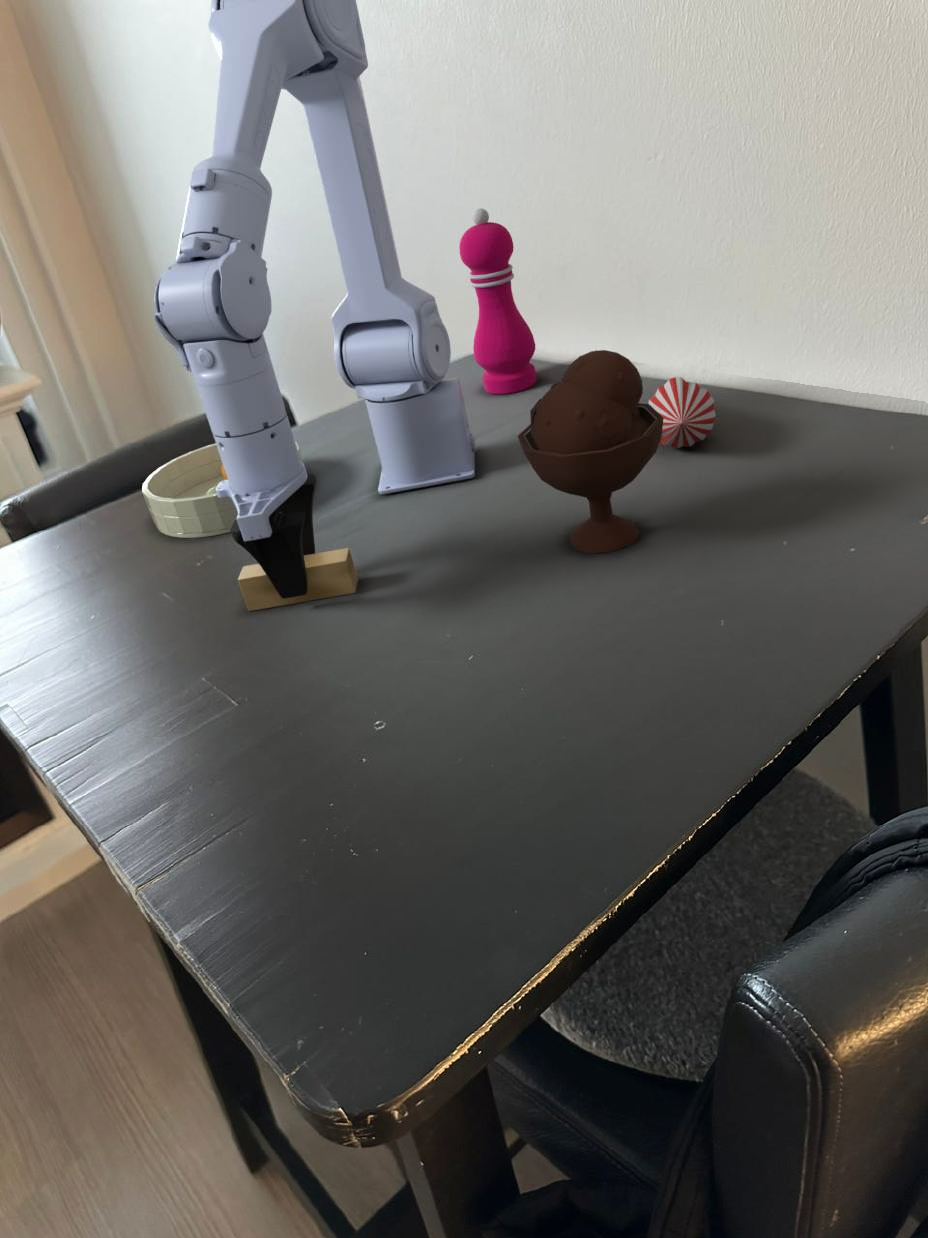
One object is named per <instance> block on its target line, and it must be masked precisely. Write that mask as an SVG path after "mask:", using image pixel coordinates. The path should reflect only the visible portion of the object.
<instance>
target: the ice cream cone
mask: <svg viewBox="0 0 928 1238" xmlns="http://www.w3.org/2000/svg"><path fill="white" fill-rule="evenodd" d="M648 404H650V405H651V406H652V407H653V408H654V409H655V410H656V411H657V412H658V413H659V414H660V415H661V416H662V417H663V428H662V437H661V439H660V442H661V444H662V445H663V446H664V447H665V446H666V447H671V448H674V449H680V448H682V447H683V448H684V447H686V448H690V447H692V446H693V445H695V444H696V443H697V442H701V441H704V440H705V438H706V436H707V435H708V434H710V433H711V431H712V430H713V428H714V424H715V420H716V417H717V415H716V411H715V399H714V398H713V397H712V395H711V393H710V391H709V390H708V389H705V388H703V387H701V386H700V385H699V384H698V383H696V382H690V381H686V380H685V379H684V378H683V377H681V376H675V377H670V378H669V379H668V380H667V381H666V383H664V384H663V385H660V386H659V387H657V390H656V392H655V393H654V394H653V396H652V397H650V398H649V399H648Z"/></svg>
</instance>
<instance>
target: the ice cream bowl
mask: <svg viewBox="0 0 928 1238" xmlns="http://www.w3.org/2000/svg"><path fill="white" fill-rule="evenodd" d="M643 390H644V387H643V379H642V377H641V375H640V372H639V370H638V368H637V367H636V366H635V365H634V363H633V362H632V361H631V360H630V359H629V358H627V357H626V356H624V355H622V354H620V353H619V352H616V351H612V350H607V349H601V350H597V349H596V350H591V351H589V352H586V353H584V354H582V355H580V356H578V357H577V358H576V359H574V361H573V362H571V363H570V364H569V365H568V367H567V368H566V370H565V372H564V374H563V375H562V378H561V381H558V382H554V383H553V384H552V385H551V386H550V388H549V390H548V391H546V393H544V395H543V396H542V397H541V398H538V400H537V402H536V403H535V404H534V406H533V407H531V409H529V410H530V411H529V412H530V423H529V424H528V426H527V427H526V428H525V429H523V431H521V432H520V433H519V434H518V435H517V439H518V441H519V444H520V447H521V449H522V451H523V454H524V455H525V457H526V459H527V461H528V463H529V465H530V466H531V468H532V469H533V471H534V472H535V474H536V475H537V476H538V477H539V479H540V480H541V481H542V482H544V483H545V484H547V485H549V487H551V488H553V489H554V490H556V491H560V492H563V493H565V494H568V495H573V496H577V497H583V498H586V500H587V502H588V506H589V514H590V515H589V518H587V519H586V520H584V521H583V522H582V523H580V524H579V525H578V526H577V527H576V528H575V529H574V531H572V533H571V535H570V543H571V544H572V546H573V547H574V549H575V550H577V551H581V552H583V553H588V554H602V553H612V552H616V551H619V550H621V549H624V548H626V547H628V546H630V545H633V544H634V542H635V541H636V539H637V538H638V536H639V535H640V532H639V530H638V527H637V526H636V525H635V523H634V521H632V519H629V518H626V517H622V516H619V515H615V514H614V512H613V508H612V502H611V501H612V500H611V498H612V494H613V493H614V492H617V491H619V490H621V489H624V488H625V487H626V486H628V485H629V484H631V483H632V482H633V481H635V479H636V478H637V477H638V475H639V474H640V473H641V472H642V471H643V469H645V467H646V465H647V464H648V463H649V462H650V460H651V459H652V458H653V457H654V455H655V454H656V453H657V450H658V447H659V444H660V442H661V441H660V439H661V437H662V428H663V417H662V416H661V415H660V414H659V413H658V412H657V411H656V410H655V409H654V408H653V407H652V406H651V405H650V404H649V403H641V402H640V400H641V398H642V396H643V394H644V391H643Z"/></svg>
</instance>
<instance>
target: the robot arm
mask: <svg viewBox="0 0 928 1238" xmlns="http://www.w3.org/2000/svg"><path fill="white" fill-rule="evenodd" d="M210 4H211V5H210V16H209V17H210V18H209V20H208V24H207V25H208V30H209V33H210V34H209V35H210V37H211V39H212V42H213V45H214V47H215V50H216V52H217V54H218V56H219V58H220V69H219V80H218V89H217V91H218V92H217V99H216V110H215V111H216V112H215V121H214V122H215V123H214V131H213V132H214V133H213V143H212V154H211V156H210V157H208V158H205V159H203V160H202V161H200V162H198V163H197V164H196V165H195V166H194V167H193V169H192V171H191V176H190V182H189V188H188V195H187V200H186V205H185V210H184V216H183V220H182V226H181V232H180V236H179V242H178V249H177V253H176V258H175V263H172V264H171V265H169V266H167V269H166V270H164V271H163V273H162V275H161V276H160V278H159V279H157V283H156V285H155V289H154V296H153V299H154V308H155V314H154V315H153V320H154V322H155V323H154V324H155V325H156V326H157V329H158V330H159V332H160V334H161V335H162V337H163V338H164V339H165V340H166V341H167V342H168V343H170V344H171V345H172V346H173V348H174V349H175V350H176V352H177V355H178V357H179V360H180V363H181V366H182V367H184V368H185V369H186V371H187V372H190V373H192V376H193V380H194V382H195V383H194V384H195V385H196V387H197V388H196V389H197V391H198V395H199V397H200V400H201V403H202V406H203V409H204V413H205V415H206V419H207V421H208V425H209V427H210V430H211V434H212V436H213V439H214V443H216V445H217V448H218V451H219V454H220V457H221V460H222V463H223V466H224V469H225V472H226V475H227V478H228V480H225V481H222V482H220V483H219V484H218V486H217V488H216V493H217V496H218V497H219V498H225V497H231V498H232V500H233V502H234V505H235V507H236V509H237V511H238V515H237V518H236V519H237V520H234V522H233V525H232V527H231V529H230V531H231V532H230V533H231V536H232V538H233V540H234V542H235V543H236V544H238V545H239V546H240V547H242V548H243V549H245V551H246V552H247V553H248V554H249V555H250V556H251V557H252V558H253V559H254V560H255V561H256V562H257V564H259V565H260V566H261V567H262V569H263V570H264V572H265V573H266V575H267V576H268V578H269V580H270V581H271V583H272V584H273V586H274V588H275V589H276V591H277V592H278V594H279V595H280V596H281V598H283V599H285V598H290V597H296V596H302V595H306V594H307V587H308V583H307V573H306V567H305V561H304V555H310V554H316V544H315V534H314V519H313V515H314V514H313V509H314V497H315V491H316V486H317V477H316V475H315V474H313V473H308V471H307V469H306V466H304V465H305V463H304V464H303V463H302V462H301V460H300V457H299V454H298V450H297V447H296V443H295V441H296V440H295V437H294V433H293V429H292V427H291V423H290V420H289V416H288V414H287V410H286V406H285V403H284V399H283V397H282V392H281V390H280V389H281V388H280V386H279V383H278V379H277V375H276V373H275V369H274V366H273V363H272V362H273V361H272V358H271V356H270V353H269V349H268V345H267V342H266V339H265V335H264V332H265V331H266V328H267V327H268V324H269V321H270V316H271V314H272V297H271V290H270V287H269V283H268V268H267V261H266V260H265V259H264V258H263V256H262V255H263V251H264V244H265V239H266V233H267V232H266V231H267V227H268V221H269V216H270V210H271V203H272V197H273V189H272V188H273V187H272V186H271V183H270V181H269V180H268V179H267V177H266V176H265V174H264V173H263V171H262V170H261V167H262V165H263V164H262V163H263V161H264V155H265V152H266V148H267V145H268V141H269V138H270V133H271V129H272V126H273V122H274V118H275V115H276V114H275V113H276V112H277V111H276V110H277V107H278V104H279V99H280V95H281V91H282V90H284V91H287V92H288V93H289V94H290V95H291V96H292V97H294V98H295V99H296V100H297V101H298V102H299V103H300V104H302V107H303V110H304V113H305V118H306V122H307V126H308V130H309V135H310V139H311V143H312V147H313V148H312V149H313V152H314V157H315V160H316V164H317V170H318V173H319V177H320V182H321V186H322V190H323V195H324V198H325V203H326V207H327V212H328V215H329V221H330V224H331V228H332V232H333V236H334V240H335V245H336V250H337V254H338V257H339V258H338V259H339V261H340V266H341V270H342V275H343V279H344V283H345V287H346V291H347V293H346V295H345V297H344V298H343V300H341V302H340V303H339V304H338V306H337V307H336V309H335V310H334V312H333V313H332V315H331V318H330V321H331V325H332V330H333V341H334V342H333V344H334V345H333V359H334V364H335V368H336V370H337V372H338V375H339V376H340V378H341V379H342V381H343V382H344V383H345V385H346V386H347V387H349V388H350V389H353V390H355V394H356V397H357V399H364V401H365V405H366V409H367V410H366V411H367V414H368V417H369V421H370V426H371V430H372V434H373V437H374V441H375V445H376V449H377V453H378V458H379V462H380V465H381V471H380V472H381V473H380V478H379V484H378V489H377V492H378V494H379V495H387V494H393V493H398V492H403V491H410V490H414V489H420V488H427V487H431V486H435V485H442V484H447V483H453V482H459V481H464V480H469V479H473V478H475V476H476V471H475V470H476V468H475V467H476V466H475V464H476V463H475V452H476V451H477V448H476V442H475V438H474V437H475V436H474V434H473V432H471V428H470V424H469V419H468V413H467V408H466V403H465V399H464V393H463V389H462V385H461V382H460V379H459V378H457V377H456V378H455V377H454V378H446V379H445V376H446V374H447V372H448V370H449V368H450V364H451V358H452V357H451V356H452V355H451V353H452V352H451V351H452V349H451V341H450V336H449V333H448V330H447V328H446V326H445V324H444V323H443V319H442V318H441V315H440V312H439V308H438V305H437V302H436V301H437V300H436V297H435V296H434V295H432V294H431V293H429V292H428V291H426V290H424V289H422V288H420V287H418V286H416V285H415V284H412V283H411V282H409V281H407V280H406V279H405V278H403V275H402V270H401V266H400V262H399V258H398V252H397V247H396V243H395V238H394V233H393V228H392V224H391V223H392V222H391V220H390V214H389V210H388V205H387V199H386V194H385V191H384V185H383V181H382V176H381V172H380V167H379V161H378V157H377V153H376V147H375V144H374V138H373V134H372V129H371V124H370V120H369V115H368V109H367V105H366V100H365V95H364V91H363V86H362V80H361V75H362V74H364V72H365V71H366V70H367V69H368V68H369V61H368V57H367V52H366V51H367V50H366V42H365V38H364V34H363V28H362V24H361V19H360V13H359V8H358V4H357V0H211V1H210Z"/></svg>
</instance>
